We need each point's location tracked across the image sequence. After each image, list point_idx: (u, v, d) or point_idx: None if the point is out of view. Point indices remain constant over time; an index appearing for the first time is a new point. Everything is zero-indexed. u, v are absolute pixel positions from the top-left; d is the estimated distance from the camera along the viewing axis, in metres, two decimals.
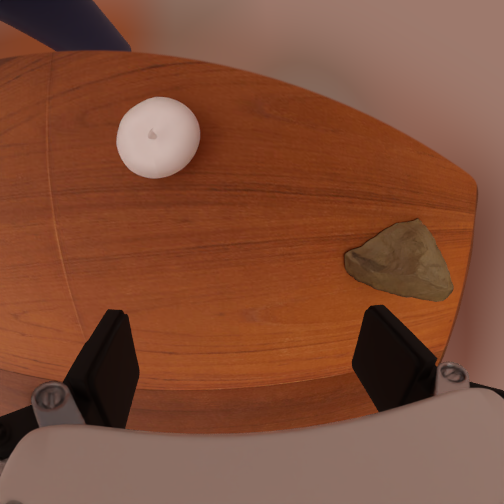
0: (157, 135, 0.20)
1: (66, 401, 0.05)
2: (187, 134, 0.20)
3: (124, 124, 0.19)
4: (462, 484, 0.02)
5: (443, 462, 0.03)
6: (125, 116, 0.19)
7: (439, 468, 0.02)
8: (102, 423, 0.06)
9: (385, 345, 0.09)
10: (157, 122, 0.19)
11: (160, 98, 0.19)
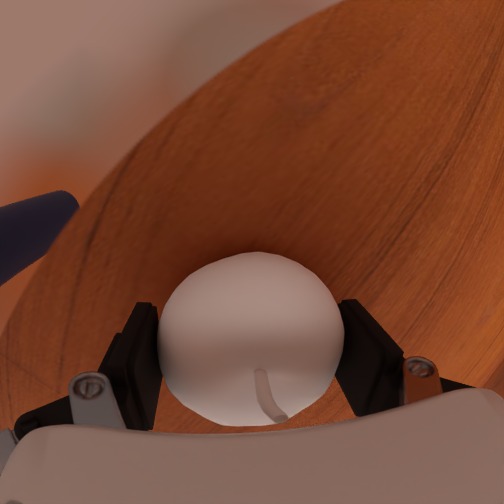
0: (263, 369, 0.09)
1: (107, 389, 0.06)
2: (314, 319, 0.08)
3: (192, 408, 0.09)
4: (462, 484, 0.02)
5: (443, 462, 0.03)
6: (174, 395, 0.09)
7: (439, 468, 0.02)
8: (136, 411, 0.07)
9: (354, 338, 0.09)
10: (240, 362, 0.08)
11: (179, 317, 0.08)
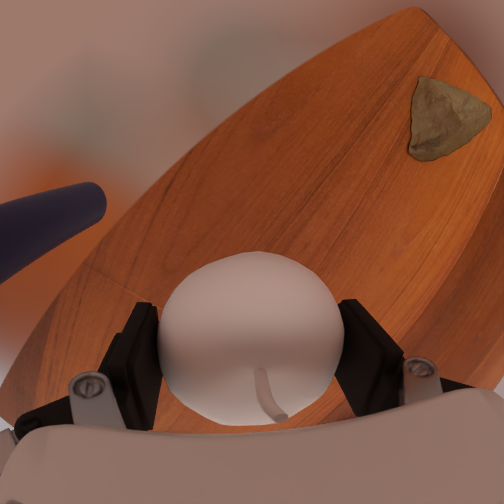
0: (263, 368, 0.09)
1: (107, 389, 0.06)
2: (314, 318, 0.08)
3: (192, 408, 0.09)
4: (462, 484, 0.02)
5: (443, 462, 0.03)
6: (174, 394, 0.09)
7: (439, 468, 0.02)
8: (136, 411, 0.07)
9: (354, 338, 0.09)
10: (240, 361, 0.08)
11: (179, 316, 0.08)
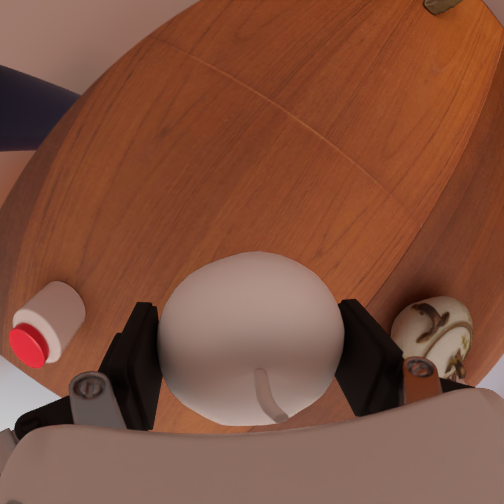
0: (264, 368, 0.09)
1: (107, 389, 0.06)
2: (314, 318, 0.08)
3: (192, 408, 0.09)
4: (462, 484, 0.02)
5: (443, 462, 0.03)
6: (174, 394, 0.09)
7: (439, 468, 0.02)
8: (137, 411, 0.07)
9: (354, 338, 0.09)
10: (240, 362, 0.08)
11: (179, 316, 0.08)
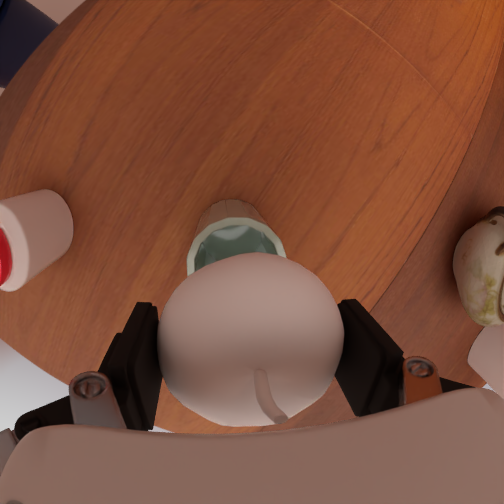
0: (263, 369, 0.09)
1: (107, 389, 0.06)
2: (314, 319, 0.08)
3: (192, 408, 0.09)
4: (462, 484, 0.02)
5: (443, 462, 0.03)
6: (174, 395, 0.09)
7: (439, 468, 0.02)
8: (137, 411, 0.07)
9: (354, 338, 0.09)
10: (239, 363, 0.08)
11: (179, 317, 0.08)
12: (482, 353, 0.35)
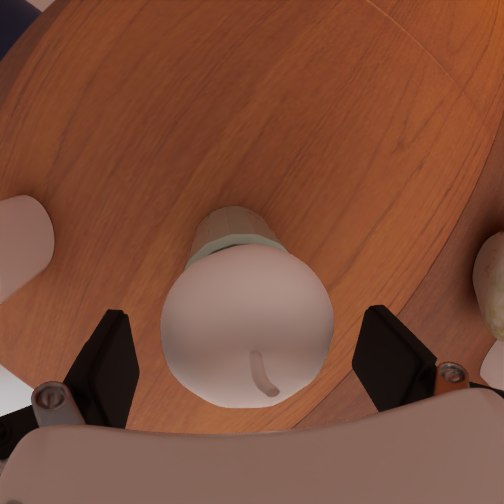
0: (258, 350, 0.10)
1: (66, 401, 0.05)
2: (304, 303, 0.09)
3: (193, 389, 0.10)
4: (462, 484, 0.02)
5: (443, 462, 0.03)
6: (176, 376, 0.10)
7: (439, 468, 0.02)
8: (102, 423, 0.06)
9: (385, 345, 0.09)
10: (236, 343, 0.09)
11: (181, 301, 0.09)
12: (495, 365, 0.31)
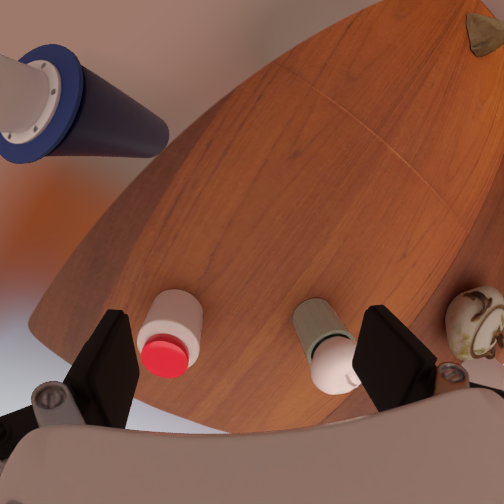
0: (347, 374, 0.28)
1: (66, 401, 0.05)
2: None
3: (325, 389, 0.28)
4: (462, 484, 0.02)
5: (443, 462, 0.03)
6: (320, 386, 0.29)
7: (439, 468, 0.02)
8: (102, 423, 0.06)
9: (385, 345, 0.09)
10: (343, 373, 0.28)
11: (327, 363, 0.28)
12: None
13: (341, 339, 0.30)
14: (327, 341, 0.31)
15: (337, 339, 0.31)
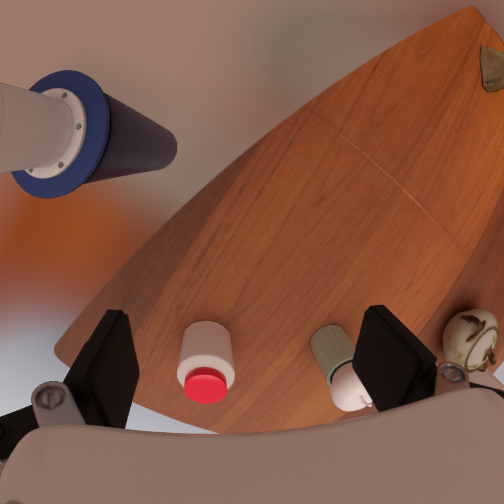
0: (362, 395, 0.32)
1: (66, 401, 0.05)
2: None
3: (344, 407, 0.32)
4: (462, 484, 0.02)
5: (443, 462, 0.03)
6: (339, 405, 0.32)
7: (439, 468, 0.02)
8: (102, 423, 0.06)
9: (385, 345, 0.09)
10: (359, 394, 0.32)
11: (347, 387, 0.32)
12: None
13: None
14: (345, 367, 0.35)
15: None
